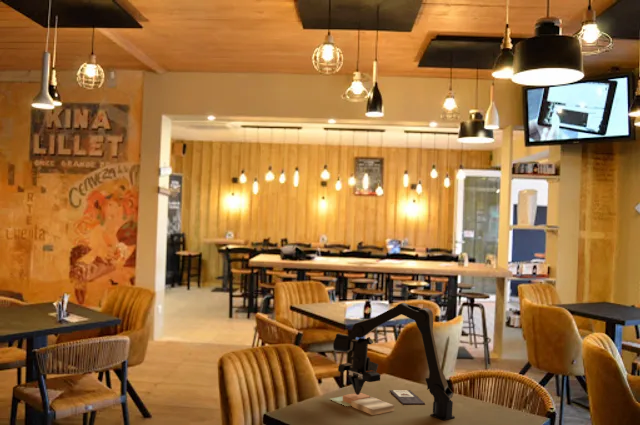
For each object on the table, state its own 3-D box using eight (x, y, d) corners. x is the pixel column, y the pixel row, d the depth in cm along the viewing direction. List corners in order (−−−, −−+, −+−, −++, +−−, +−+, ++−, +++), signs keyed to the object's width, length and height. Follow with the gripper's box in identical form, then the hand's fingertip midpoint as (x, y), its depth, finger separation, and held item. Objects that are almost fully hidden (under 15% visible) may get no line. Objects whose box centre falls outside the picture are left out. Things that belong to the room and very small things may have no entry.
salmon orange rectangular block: (370, 401, 239) (370, 396, 239) (352, 404, 233) (353, 399, 233) (359, 397, 243) (360, 392, 243) (342, 400, 238) (342, 395, 238)
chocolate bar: (403, 403, 238) (389, 390, 256) (402, 405, 238) (389, 392, 256) (425, 403, 240) (410, 390, 258) (424, 405, 240) (410, 392, 258)
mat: (375, 401, 241) (375, 400, 241) (346, 406, 232) (346, 405, 232) (358, 394, 249) (358, 393, 249) (329, 399, 239) (329, 398, 239)
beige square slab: (394, 410, 230) (394, 405, 230) (372, 415, 223) (372, 409, 223) (372, 402, 239) (372, 397, 239) (350, 406, 232) (351, 401, 232)
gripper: (391, 357, 236) (389, 398, 235) (359, 347, 250) (357, 386, 250) (370, 360, 229) (368, 402, 229) (338, 349, 243) (336, 389, 243)
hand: (357, 394), depth 238 cm, fingers closed
